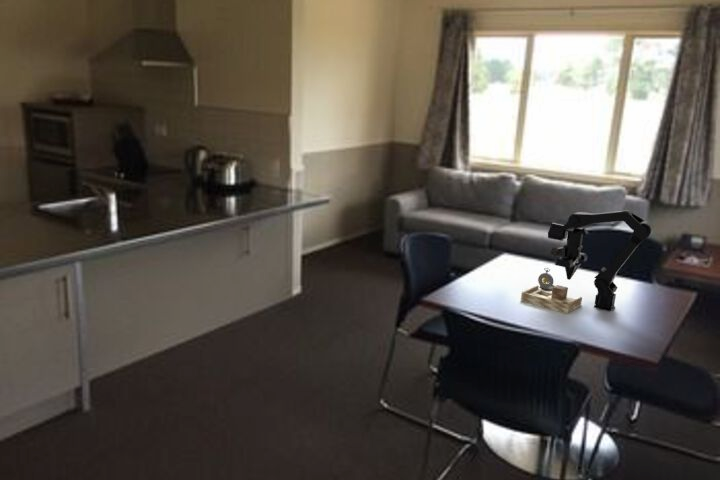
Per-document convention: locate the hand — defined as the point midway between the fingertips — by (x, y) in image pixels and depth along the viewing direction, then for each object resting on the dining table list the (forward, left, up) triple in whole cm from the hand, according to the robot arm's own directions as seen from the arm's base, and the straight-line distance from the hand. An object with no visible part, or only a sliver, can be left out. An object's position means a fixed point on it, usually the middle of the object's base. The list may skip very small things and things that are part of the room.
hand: (568, 279), depth 252 cm
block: (0, +7, -6) cm, 10 cm away
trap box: (+2, +11, -9) cm, 14 cm away
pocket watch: (+12, -6, -9) cm, 16 cm away
